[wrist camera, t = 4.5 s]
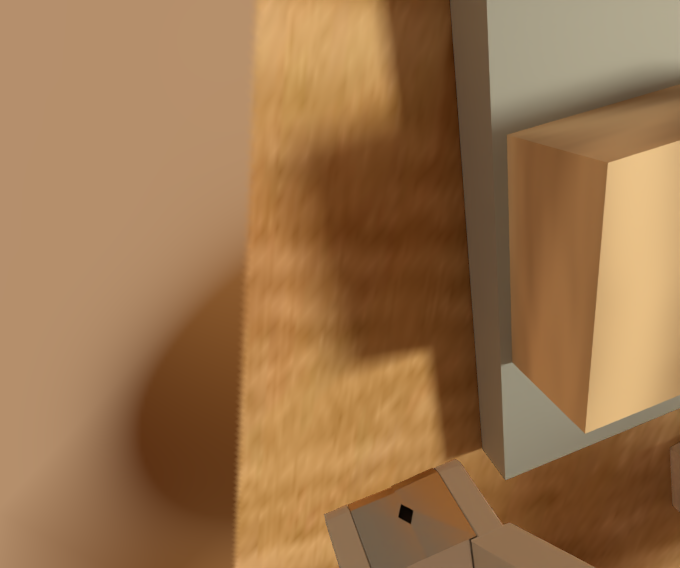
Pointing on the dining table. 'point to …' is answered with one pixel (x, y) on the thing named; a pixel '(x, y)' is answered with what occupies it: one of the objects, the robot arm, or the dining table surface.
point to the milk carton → (675, 475)
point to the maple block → (598, 257)
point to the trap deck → (492, 173)
